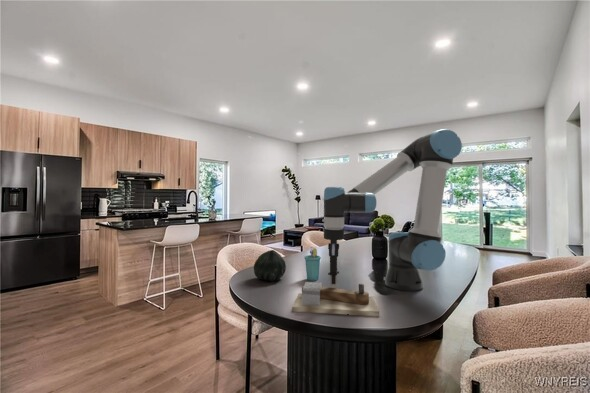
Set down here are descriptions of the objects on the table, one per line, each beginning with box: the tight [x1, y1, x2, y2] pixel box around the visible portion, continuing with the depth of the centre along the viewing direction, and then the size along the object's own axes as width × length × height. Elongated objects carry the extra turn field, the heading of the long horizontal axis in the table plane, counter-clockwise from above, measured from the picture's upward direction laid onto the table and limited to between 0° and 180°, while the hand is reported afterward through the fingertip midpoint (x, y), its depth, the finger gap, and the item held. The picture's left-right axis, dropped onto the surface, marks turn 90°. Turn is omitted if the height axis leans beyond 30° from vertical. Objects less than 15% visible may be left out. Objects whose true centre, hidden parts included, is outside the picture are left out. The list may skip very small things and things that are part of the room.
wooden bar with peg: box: [301, 283, 370, 305], centre depth 100 cm, size 24×5×6 cm, turn 66°
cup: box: [304, 247, 322, 282], centre depth 131 cm, size 14×8×15 cm, turn 171°
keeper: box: [301, 281, 323, 306], centre depth 98 cm, size 6×10×5 cm, turn 171°
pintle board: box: [292, 292, 380, 317], centre depth 97 cm, size 28×14×2 cm, turn 81°
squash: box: [253, 249, 287, 282], centre depth 131 cm, size 14×15×15 cm
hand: (333, 291), depth 103 cm, fingers closed
